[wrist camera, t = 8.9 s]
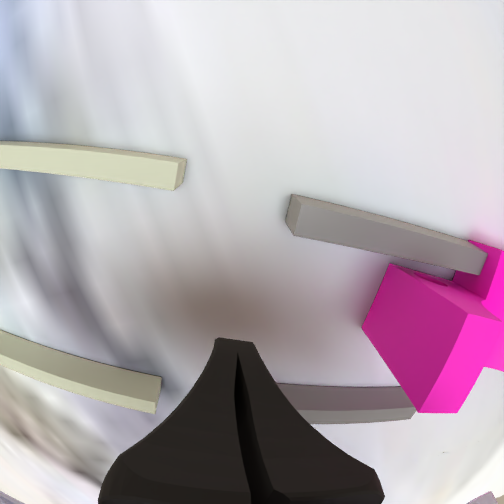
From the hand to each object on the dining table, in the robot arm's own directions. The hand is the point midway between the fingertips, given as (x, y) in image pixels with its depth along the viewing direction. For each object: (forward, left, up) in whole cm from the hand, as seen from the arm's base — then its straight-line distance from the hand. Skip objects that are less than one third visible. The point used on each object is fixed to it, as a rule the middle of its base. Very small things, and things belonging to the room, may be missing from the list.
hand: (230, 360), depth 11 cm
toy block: (+2, -15, -4) cm, 15 cm away
